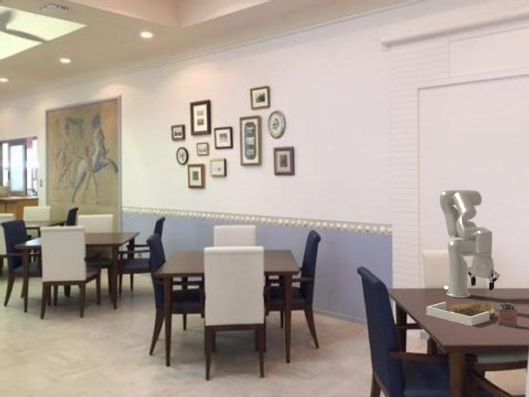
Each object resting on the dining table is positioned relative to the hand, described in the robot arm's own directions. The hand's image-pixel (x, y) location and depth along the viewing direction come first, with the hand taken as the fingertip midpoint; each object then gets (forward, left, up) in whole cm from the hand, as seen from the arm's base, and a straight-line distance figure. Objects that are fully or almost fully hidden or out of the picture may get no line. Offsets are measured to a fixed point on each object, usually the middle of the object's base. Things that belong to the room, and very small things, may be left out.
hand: (482, 287), depth 258 cm
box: (+1, -23, -11) cm, 26 cm away
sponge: (+5, -16, -11) cm, 20 cm away
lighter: (+22, -17, -11) cm, 30 cm away
